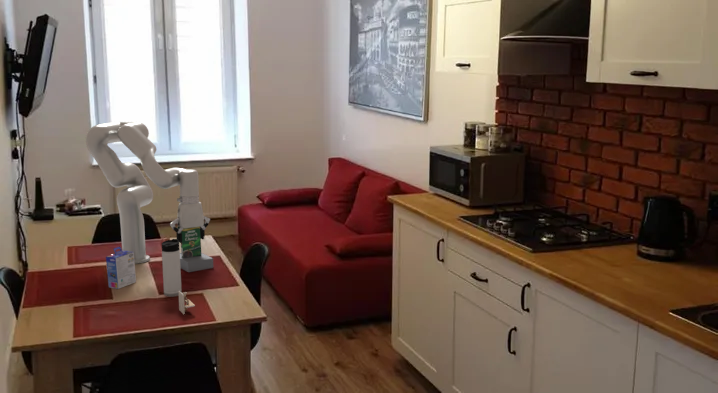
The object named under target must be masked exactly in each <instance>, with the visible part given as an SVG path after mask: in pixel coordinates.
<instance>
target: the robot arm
mask: <svg viewBox="0 0 718 393" xmlns="http://www.w3.org/2000/svg"><path fill="white" fill-rule="evenodd" d="M149 134H150V133H149V129H148V126H146V124H144V123H142V122H140V121H135V122H133V121H111V122H105V123H99V124H95V125H93V126H92V127H90V128H89V130H88V131H87V133H86V135H85V136H86V137H85V143H86V147H87V150H88V151H89V153H90V155H91V156H92V157H93V159H94V160H95V162H96V163H97V165H98V167H99V168H100V171H101V172H102V174H103V176H104V177H105V179H106V180H107V183H109V185H110V186H111V187H113V188H116V189H117V188H122V187H125V188H123V189H122V190H120V191H118V194H117V195H116V205H117V209H118V212H119V223H120V224H119V225H120V236H121V238H120V239H121V249H122V251H131V252H134V262H135V265H136V264H137V265H138V264H144V263H146V262H148V261H150V259H151V256H150V255H148V254H146V252H147V251H146V236H145V235H146V234H145V233H146V232H145V219H144V215H143V212H142V210H141V209H142V207H145V206H148V205H149V204H151V203H152V201H153V199H154V192H153V189H152V187H151V184H149V182H148V180H147V179H146V177H148V178H149V180H150V181H151V182H152V183H153V184H154V185H156V186H157V187H159V188H160V189H165V190H166V189H167V190H168V189H171V188H173V187H177V186H179V198H177V199H176V201H177V203H178V202H179V203H178V206H177V213H176V215H177V216H176V217H177V218H175V219H174V220H172V221H171V222H170V223H169V226H170V227H171V228H172V230H173V231H174V232H175V233H176V236H175V237H176V239H177V240H178V241H179V244H181V243H182V233H181V231H182V230H183V228H184V229H187V228H194V227H200V238H201V240H205V230H206V229H207V228H208V226H209V223H210V221H211V218H209V217H208V216H205V215H204V210H203V205H202V202H201V201H200V193H199V192H200V189H199V188H200V186H199V183H200V180H199V172H198V170H197V169H190V168H189V169H188V168H187V169H185V168H180V167H170V168H167V169H164V168H163V167H162V166H161V165H160V163H158V161H157V159H156V158H155V154H156V152H157V146H156V145H155V144H154V143H153V142H152V141H151V140H150V139H149ZM119 142H121V143H122V144H124V146H125V147H126V148H128V150H129V152H131V153H132V154H133V155H134V156H135V157H136V158H137V159H138V160H139V161H140V165H141V167H142V170H141V169H140V168H139V166H138V165H136V164H134V163H133V162H122V161H121V160H120V158H119V156H118V154H117V153H116V152H115V151H114V149H112V148H111V147H109V145H108V144H112V143H113V144H114V143H119ZM142 171H143V172H142ZM144 174H145V176H146V177H145V176H144ZM176 224H177V227H176ZM113 254H114V253H112V254H110V255H113Z"/></svg>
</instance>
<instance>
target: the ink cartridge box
mask: <svg viewBox="0 0 718 393" xmlns="http://www.w3.org/2000/svg"><path fill="white" fill-rule="evenodd" d="M112 249H113V252H114V253H112V254H113V255H111V254H110V255H107V256H106V257H105V262H106V270H107V283H108V288H111V289H116V290H118V289H122V288H124V287H126V286H129V285H131V284H132V285H133V284H134V283H136V282H137V277H136V266H135V265H136V264H135V262H134V252H131V251H122V247H121V246H117V247H114V248H112Z"/></svg>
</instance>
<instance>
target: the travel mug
mask: <svg viewBox="0 0 718 393" xmlns="http://www.w3.org/2000/svg"><path fill="white" fill-rule="evenodd" d="M180 250H181V248H180V242H179V241H178V240H177V238H171V239H167V240H164V241H163V242H161V261H162V262H161V263H162V280H163V295H164V296H165V297H171V298H172V297H179V293H178V291H180V292H181V293H183V292H182V274H181V272H182V271H181V268H180V253H181V251H180Z"/></svg>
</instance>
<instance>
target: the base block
mask: <svg viewBox="0 0 718 393" xmlns="http://www.w3.org/2000/svg"><path fill="white" fill-rule="evenodd" d="M213 268H214V258H213V257H211V256H209V255H207V254H205V253H203V252H201V256H194V257H187V258H183V257H182V256H181V252H180V269H182V270H183V271H185V272H188V273H192V272H197V271H198V272H199V271H202V270H204V271H205V270H209V269H213Z"/></svg>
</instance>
